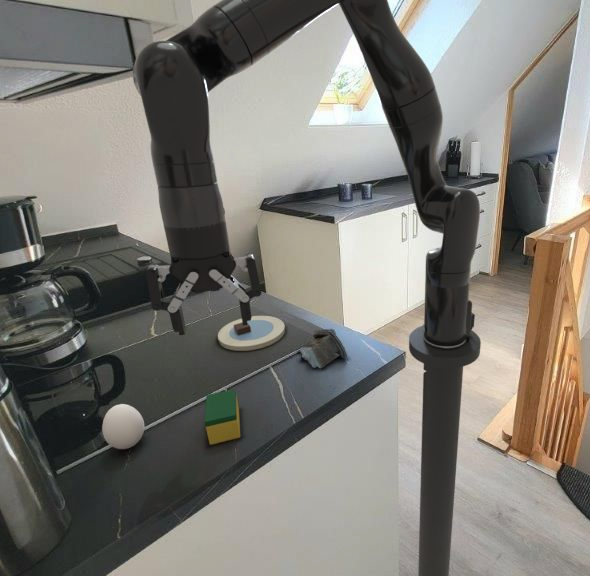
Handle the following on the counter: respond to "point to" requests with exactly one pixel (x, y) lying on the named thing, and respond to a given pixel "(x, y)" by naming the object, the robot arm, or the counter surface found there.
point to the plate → (252, 334)
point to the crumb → (242, 328)
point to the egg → (122, 426)
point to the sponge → (222, 417)
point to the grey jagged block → (323, 348)
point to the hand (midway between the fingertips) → (214, 327)
